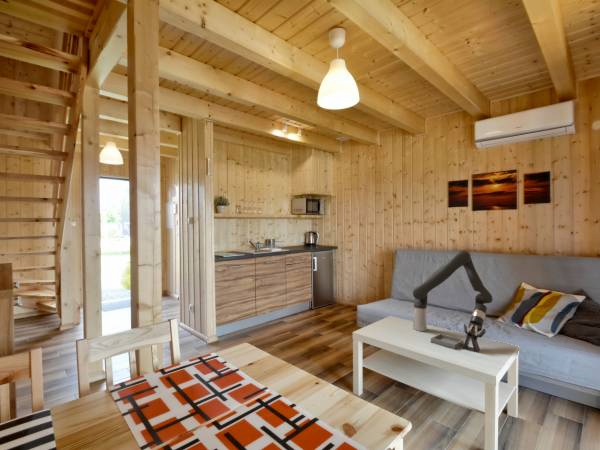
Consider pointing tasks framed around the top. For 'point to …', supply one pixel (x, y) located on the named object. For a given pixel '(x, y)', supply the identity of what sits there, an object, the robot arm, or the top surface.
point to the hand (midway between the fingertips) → (470, 340)
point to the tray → (447, 341)
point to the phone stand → (475, 343)
